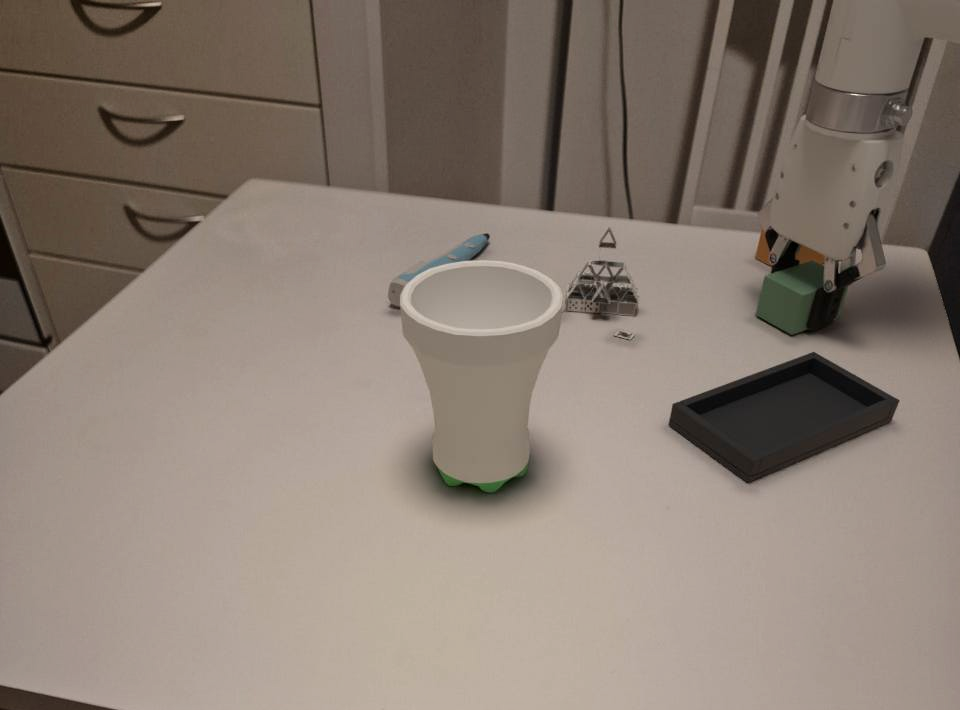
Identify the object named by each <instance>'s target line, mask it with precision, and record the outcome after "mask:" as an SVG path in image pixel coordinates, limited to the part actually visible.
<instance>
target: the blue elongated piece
mask: <svg viewBox="0 0 960 710" xmlns="http://www.w3.org/2000/svg"><path fill="white" fill-rule="evenodd" d="M490 238H491V236H490V234H489V233H487V232H486V233H480V234H475V235H473V236H472V237H471V236H470V237H469V238H468V239H466V240H464V241H463V242H461V243H459V244H457V245H456V246H454V247H452V248H451V249H449V250H448V251H446V252H444V253H442V254H440V255H439V256H436V257H434V258H431V259H428V260H425V261H423V260H420V261H418V262H417V263H415V264H413V265H412V266H410V267H409V268H407V269H406V270H405V271H403V272H402V273H400V274H398V275H397V276H396V277H394V278H393V279H392V281H391V282H390V284H389V287H388V292H387V297H388V300H389V302H390V303H391V304H392V306H393V305H394V307H395V306H396V307H397V308H398V307H399V308H400V295H401V293H402V291H403V289H404V287H405V285H406V284H407V283H409V282H410V281H411V280H412V279H413V278H414V277H416V276H417V275H419V274H420V273H422V272H424V271H426V270H428V269H430V268H433V267H437V266H441V265H444V264H449V263H455V262H462V261H471V259H473V257H475V256H476V255H477V254H478V253H479V252H480V251H482V249H483V248H484V247H486V245H487V244H488V242H489V239H490Z"/></svg>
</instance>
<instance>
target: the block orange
mask: <svg viewBox="0 0 960 710" xmlns="http://www.w3.org/2000/svg"><path fill="white" fill-rule="evenodd" d="M765 234H766V232H764V231H763V228H762V227H761V231H760V235H759V239H758V244H757V248H756V252H755V257H754V258H755V259H756V260H758V261H760V262H762V263H763V264H766V265H768V266H769V267H771V268H772V266H773V265H772V264H770V262H769V259H768V257H769V254H770V250H769V247H768V244H767V242H766V239H765ZM795 259H797V260H799V261H800V262H799V265H800V264H803V263H806V262H809V261H814V262H816V263H819V264H821V265H824V263H825V256H824V255H822V254H820V253H818V252H816V251H814V250H811V249H809V248H807V247H805V246H803V245H802V247H801V249H800V251H799V253H798V255H797V256H796V258H795Z"/></svg>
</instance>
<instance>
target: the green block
mask: <svg viewBox="0 0 960 710" xmlns="http://www.w3.org/2000/svg"><path fill="white" fill-rule="evenodd" d="M823 280H824V264H819V263H816V262H814V261H809V262H806V263H803V264H800V265H797V266H794V267H790V268H787V269H784V270H781V271H778V272H775V273H772V274H771V273H769V274H765V275H764V278H763V281H762V286H761V290H760V294H759V299H758V302H757V307H756V311H755V316H757V317H758V318H761V319H763V320H764V321H766V322H768V323H769V324H771V325H773V326H775V327H776V328H778V329H780V330H782V331H784V332H785V333H787V334H789V335H791V336H793V335H796V334H799V333H801V332H804V331H807V330H809V329H808V328H807V322H808V318H809V315H810V311H811V308H812V304H813V301H814V297H815V294H816V290H817V289H819V288H821V287H823ZM848 290H849V286H847V287H845V290H844V293H843V296H842V300H841V303H840V306H839V309H838V312H837V315H836V317H835V319H834V321H835V320H837V319H839V318H840V315H841V312H842V309H843V305H844V303H845V299H846V295H847V292H848Z"/></svg>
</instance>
